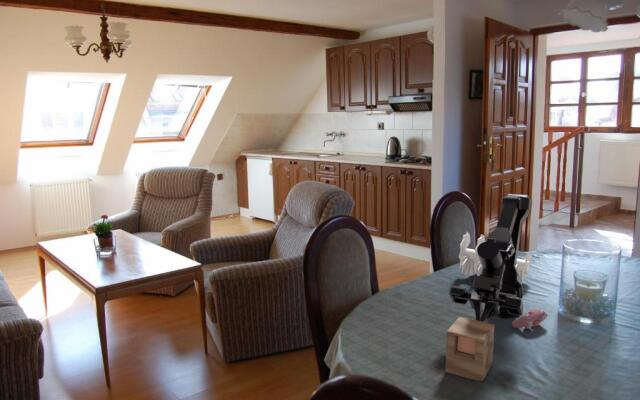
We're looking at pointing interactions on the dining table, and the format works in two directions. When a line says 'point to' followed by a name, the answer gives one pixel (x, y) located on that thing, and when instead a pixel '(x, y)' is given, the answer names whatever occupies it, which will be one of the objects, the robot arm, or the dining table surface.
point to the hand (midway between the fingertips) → (478, 329)
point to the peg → (466, 345)
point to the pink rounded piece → (530, 319)
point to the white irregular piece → (472, 261)
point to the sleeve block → (466, 362)
